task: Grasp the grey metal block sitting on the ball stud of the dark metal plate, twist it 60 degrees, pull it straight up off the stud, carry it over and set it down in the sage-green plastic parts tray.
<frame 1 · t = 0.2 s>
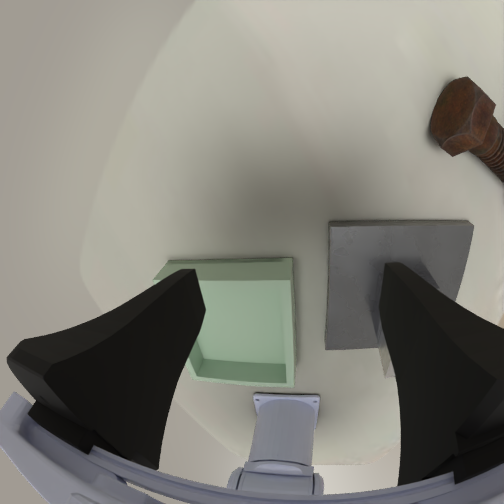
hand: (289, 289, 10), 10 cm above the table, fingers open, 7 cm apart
bolt: (495, 162, 14), on the table
parts tray: (237, 318, 25), on the table
grey metal block: (400, 295, 19), point 1 cm above the table, touching stud plate
stud plate: (397, 288, 20), on the table
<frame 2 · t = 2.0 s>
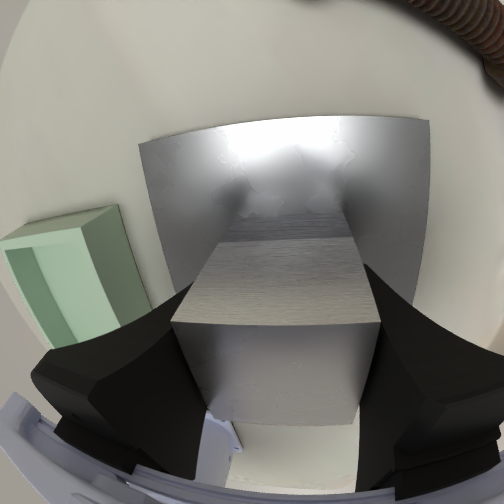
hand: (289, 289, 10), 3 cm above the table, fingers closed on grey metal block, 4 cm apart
bolt: (448, 27, 6), on the table
parts tray: (91, 296, 17), on the table
grey metal block: (292, 263, 12), point 1 cm above the table, touching gripper, stud plate
stud plate: (293, 252, 13), on the table
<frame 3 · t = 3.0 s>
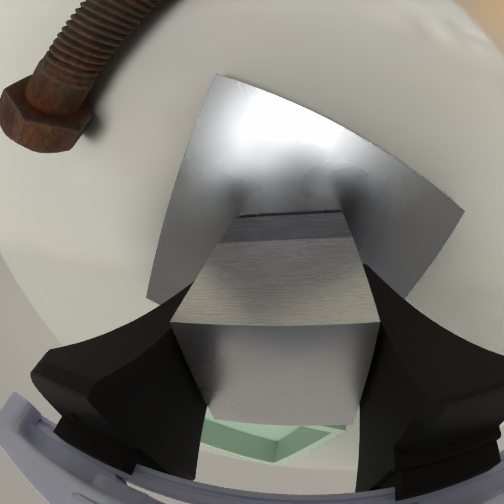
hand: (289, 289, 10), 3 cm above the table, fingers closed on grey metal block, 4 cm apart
bolt: (152, 11, 9), on the table
parts tray: (242, 402, 20), on the table
grey metal block: (291, 263, 12), point 1 cm above the table, touching gripper
stud plate: (293, 250, 13), on the table
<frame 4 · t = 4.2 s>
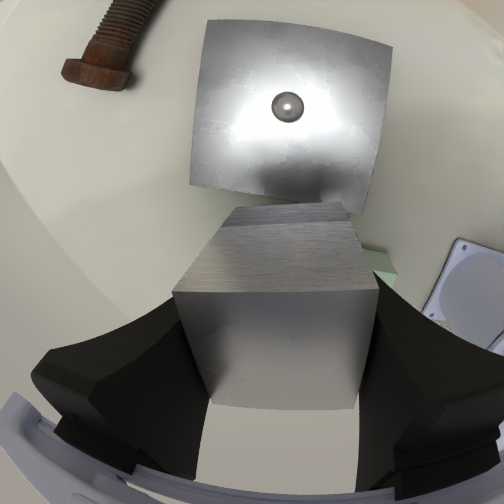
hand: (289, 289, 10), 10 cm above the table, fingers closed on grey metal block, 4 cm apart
bolt: (154, 6, 13), on the table
parts tray: (296, 294, 22), on the table
grey metal block: (291, 252, 12), point 8 cm above the table, touching gripper
stud plate: (289, 108, 16), on the table
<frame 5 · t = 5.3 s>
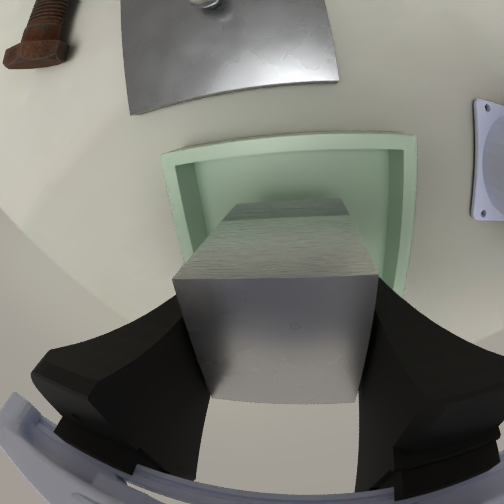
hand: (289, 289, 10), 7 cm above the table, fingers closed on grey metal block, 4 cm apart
parts tray: (296, 220, 16), on the table
grey metal block: (291, 249, 12), point 5 cm above the table, touching gripper
stud plate: (216, 7, 11), on the table
when the fingers open (4 cm above the table, at t = 6.3 s): grey metal block drops 1 cm, resting on parts tray.
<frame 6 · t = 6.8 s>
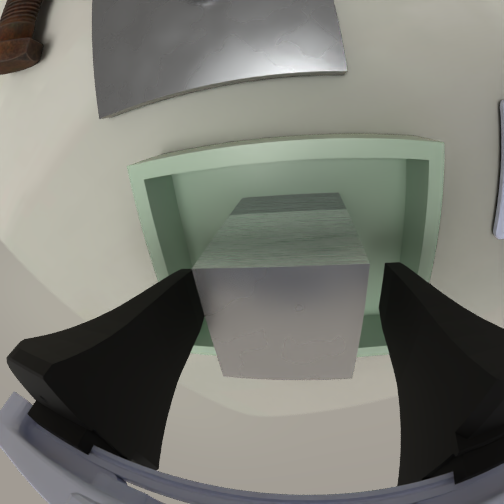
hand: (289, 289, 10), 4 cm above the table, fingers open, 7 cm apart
parts tray: (294, 241, 14), on the table
grey metal block: (293, 239, 13), point 1 cm above the table, touching parts tray
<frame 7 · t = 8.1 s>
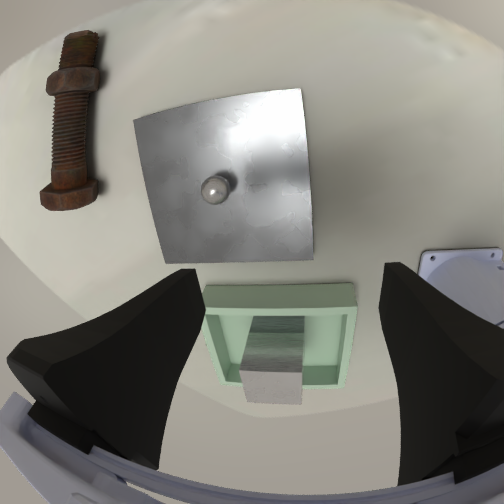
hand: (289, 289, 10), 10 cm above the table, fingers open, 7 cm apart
bolt: (90, 114, 19), on the table
parts tray: (281, 330, 25), on the table
grey metal block: (280, 332, 24), point 1 cm above the table, touching parts tray
stud plate: (224, 182, 19), on the table
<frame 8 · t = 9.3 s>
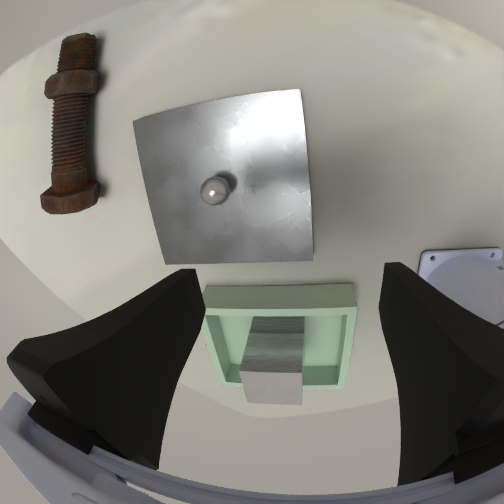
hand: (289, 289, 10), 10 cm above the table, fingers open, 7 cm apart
bolt: (89, 116, 19), on the table
parts tray: (281, 331, 25), on the table
grey metal block: (280, 332, 24), point 1 cm above the table, touching parts tray
stud plate: (224, 182, 19), on the table
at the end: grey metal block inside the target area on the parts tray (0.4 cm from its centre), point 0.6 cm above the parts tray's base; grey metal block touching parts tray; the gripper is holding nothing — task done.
